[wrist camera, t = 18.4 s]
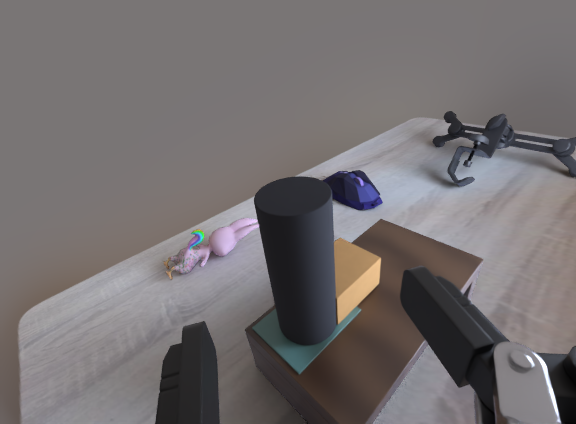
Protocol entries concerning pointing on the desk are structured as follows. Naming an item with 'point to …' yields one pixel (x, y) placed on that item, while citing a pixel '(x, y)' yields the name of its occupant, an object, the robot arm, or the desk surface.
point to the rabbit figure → (210, 245)
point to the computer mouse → (354, 189)
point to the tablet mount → (499, 143)
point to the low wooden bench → (360, 335)
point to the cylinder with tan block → (310, 259)
